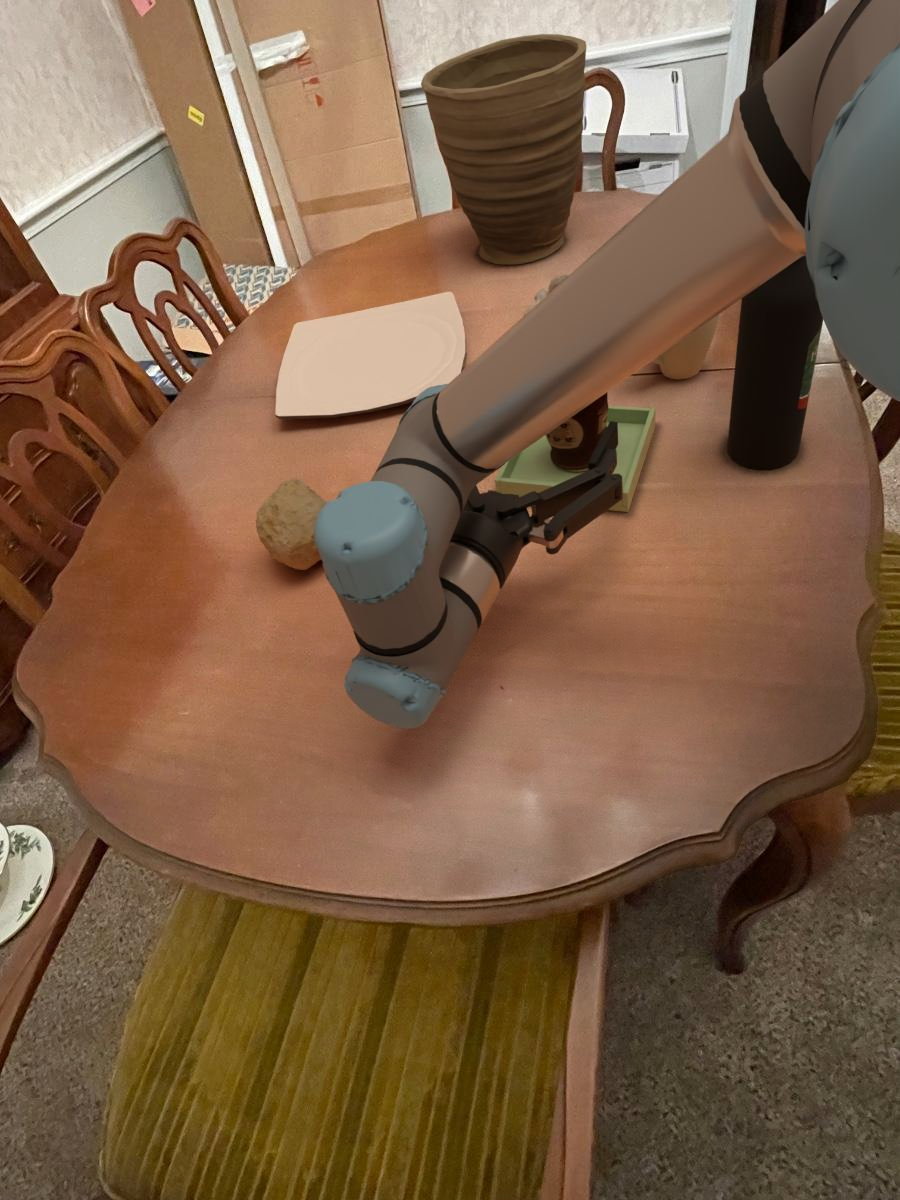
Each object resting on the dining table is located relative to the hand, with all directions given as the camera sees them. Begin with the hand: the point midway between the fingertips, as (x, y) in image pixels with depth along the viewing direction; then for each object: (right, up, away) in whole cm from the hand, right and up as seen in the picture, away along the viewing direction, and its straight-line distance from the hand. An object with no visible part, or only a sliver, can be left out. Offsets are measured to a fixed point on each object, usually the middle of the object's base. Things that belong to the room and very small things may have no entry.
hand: (550, 424), depth 78 cm
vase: (+2, +43, +52) cm, 67 cm away
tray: (+5, -2, +12) cm, 13 cm away
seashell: (+6, +21, +32) cm, 39 cm away
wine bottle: (+25, -1, +7) cm, 26 cm away
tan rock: (-27, -13, +10) cm, 32 cm away
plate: (-22, +17, +35) cm, 45 cm away
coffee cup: (+5, -1, +11) cm, 12 cm away
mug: (+19, +11, +19) cm, 29 cm away
